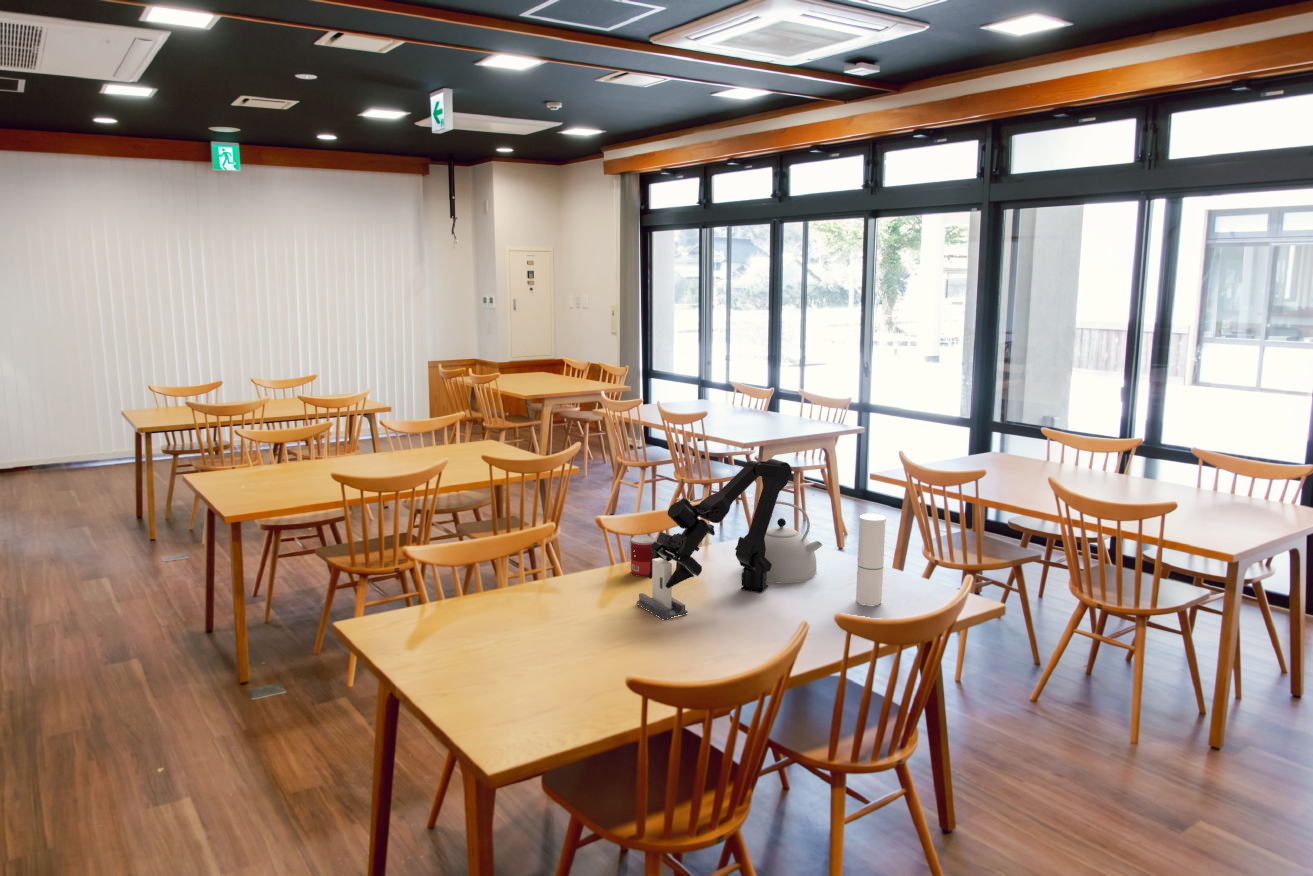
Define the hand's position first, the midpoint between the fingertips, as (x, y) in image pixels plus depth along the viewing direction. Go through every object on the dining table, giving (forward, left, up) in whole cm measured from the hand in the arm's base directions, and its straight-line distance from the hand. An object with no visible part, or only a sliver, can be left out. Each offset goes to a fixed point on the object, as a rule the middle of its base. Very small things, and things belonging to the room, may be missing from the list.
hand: (657, 582), depth 248 cm
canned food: (+18, -27, -8) cm, 33 cm away
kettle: (-21, -47, -8) cm, 53 cm away
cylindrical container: (-51, -33, -8) cm, 61 cm away
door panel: (-1, -1, -7) cm, 7 cm away
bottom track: (-1, -1, -8) cm, 8 cm away
